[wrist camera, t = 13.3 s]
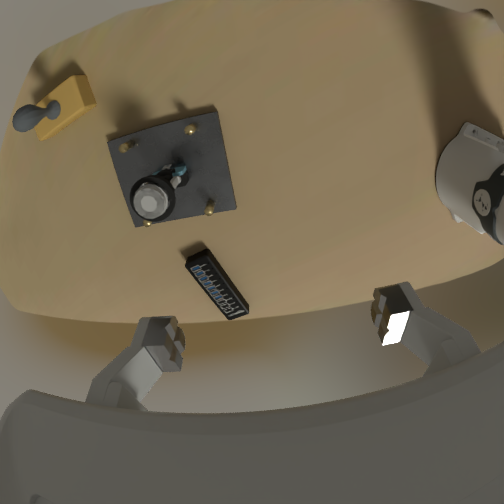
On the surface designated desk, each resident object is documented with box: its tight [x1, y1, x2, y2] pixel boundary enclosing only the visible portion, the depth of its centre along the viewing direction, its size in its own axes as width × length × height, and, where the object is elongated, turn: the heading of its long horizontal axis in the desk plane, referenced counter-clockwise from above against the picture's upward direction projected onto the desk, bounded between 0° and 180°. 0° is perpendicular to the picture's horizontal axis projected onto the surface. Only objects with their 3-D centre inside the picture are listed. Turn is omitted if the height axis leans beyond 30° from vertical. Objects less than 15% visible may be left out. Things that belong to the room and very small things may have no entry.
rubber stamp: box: [12, 75, 97, 141], centre depth 24 cm, size 10×6×12 cm, turn 108°
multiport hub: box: [185, 249, 249, 320], centre depth 47 cm, size 4×14×2 cm, turn 27°
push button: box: [129, 164, 189, 222], centre depth 31 cm, size 7×5×10 cm
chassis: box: [107, 111, 237, 227], centre depth 35 cm, size 16×14×4 cm
